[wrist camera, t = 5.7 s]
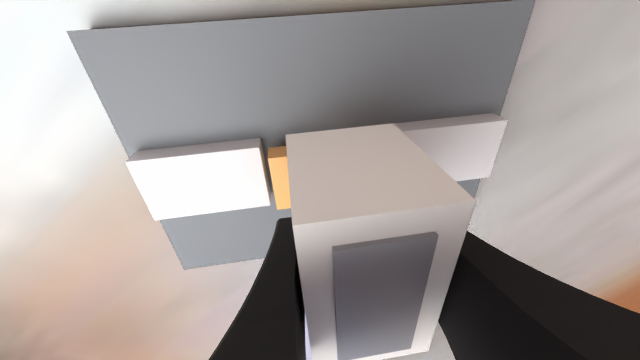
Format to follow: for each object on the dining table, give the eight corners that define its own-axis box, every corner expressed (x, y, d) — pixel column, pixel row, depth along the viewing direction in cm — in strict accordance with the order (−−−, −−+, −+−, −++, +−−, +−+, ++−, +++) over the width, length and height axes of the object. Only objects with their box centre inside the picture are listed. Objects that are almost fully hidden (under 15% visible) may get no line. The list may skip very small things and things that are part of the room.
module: (381, 247, 13) (430, 355, 9) (302, 259, 13) (314, 377, 9) (392, 123, 10) (480, 204, 6) (285, 134, 10) (292, 230, 5)
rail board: (453, 215, 21) (474, 240, 19) (190, 252, 19) (178, 284, 17) (511, 0, 13) (559, -3, 11) (89, 29, 12) (43, 33, 9)
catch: (381, 183, 15) (388, 195, 14) (277, 196, 15) (277, 209, 14) (384, 134, 14) (393, 144, 13) (268, 147, 13) (267, 158, 12)
